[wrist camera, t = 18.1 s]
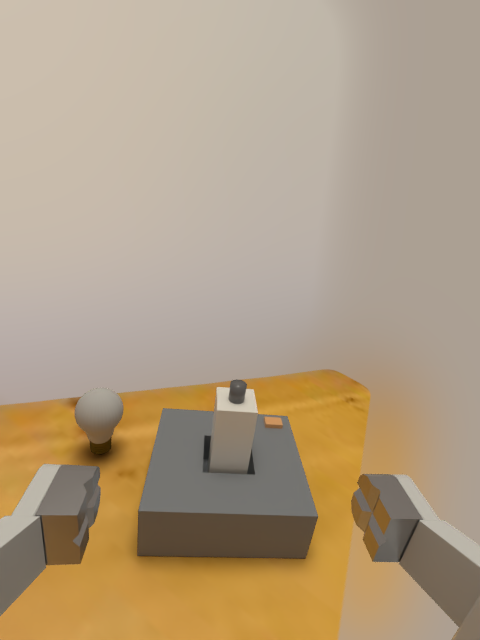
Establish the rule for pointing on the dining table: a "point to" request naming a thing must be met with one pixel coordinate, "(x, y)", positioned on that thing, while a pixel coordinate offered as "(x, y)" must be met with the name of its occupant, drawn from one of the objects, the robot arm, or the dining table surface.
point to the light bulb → (99, 417)
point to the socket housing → (224, 494)
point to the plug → (232, 429)
